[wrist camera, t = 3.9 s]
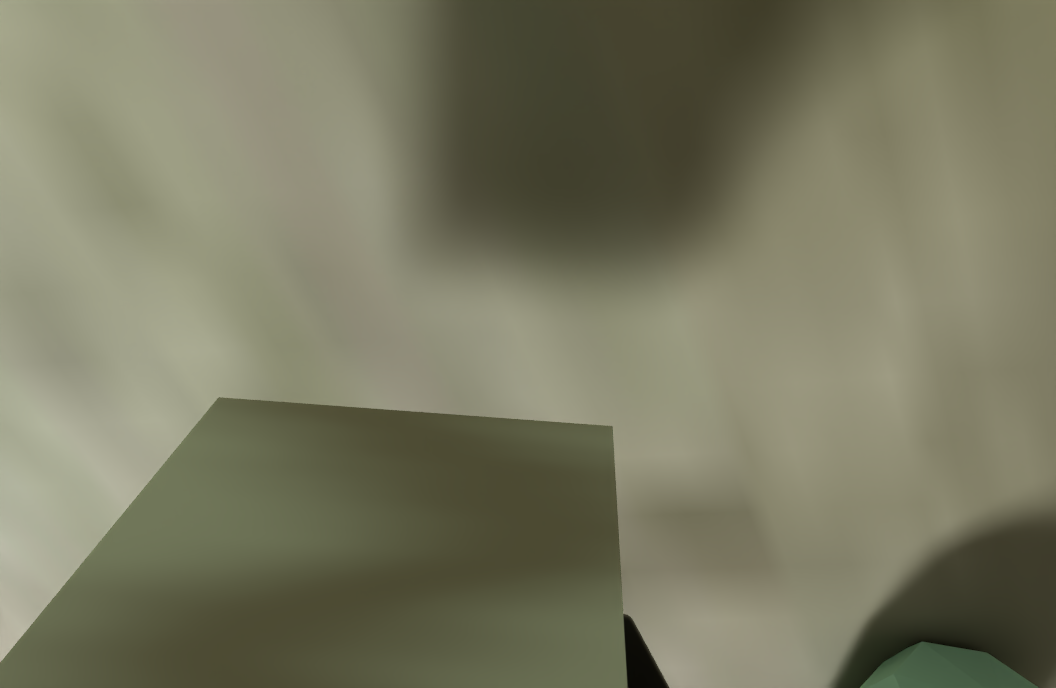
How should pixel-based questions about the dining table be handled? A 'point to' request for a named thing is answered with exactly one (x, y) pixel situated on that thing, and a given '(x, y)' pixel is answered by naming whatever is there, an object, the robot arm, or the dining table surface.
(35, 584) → the dining table surface
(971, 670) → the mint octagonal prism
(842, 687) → the dining table surface
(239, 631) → the sage block
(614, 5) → the dining table surface
